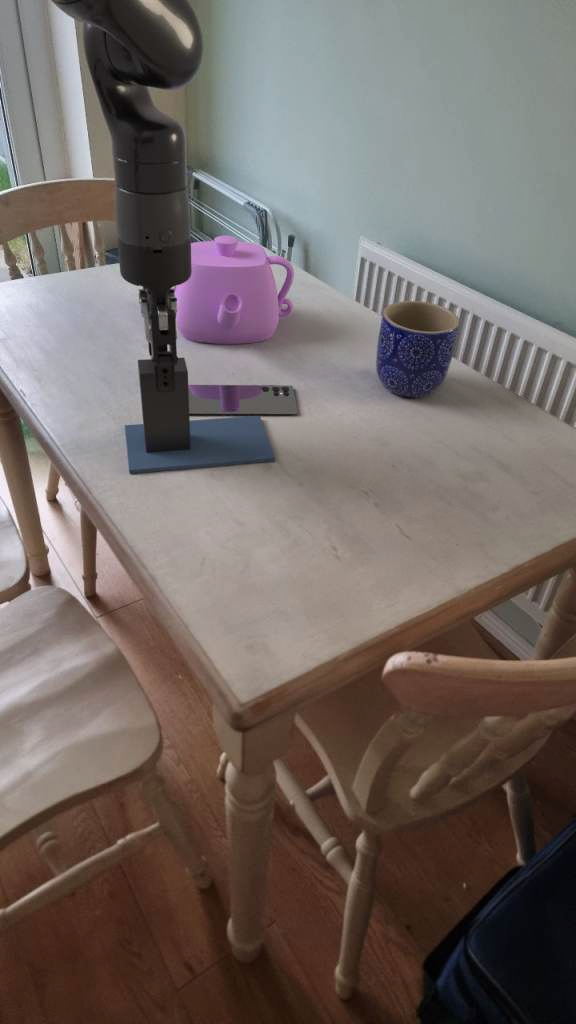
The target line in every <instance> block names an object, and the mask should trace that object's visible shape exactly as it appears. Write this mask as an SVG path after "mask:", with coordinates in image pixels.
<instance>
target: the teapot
mask: <svg viewBox="0 0 576 1024" xmlns="http://www.w3.org/2000/svg"><path fill="white" fill-rule="evenodd" d="M213 239H214V240H206V241H194V242H191V268H192V273H191V276H190V278H189V279H188V280H187V281H186V282H185V283H183V284H180V285H176V286H174V287H173V288H174V291H175V298H177V305H178V311H177V314H176V319H177V330H179V332H180V334H181V335H182V337H183V338H185V339H186V340H189V341H192V342H198V343H205V344H214V345H215V344H217V345H239V344H240V345H241V344H252V343H253V344H254V343H259V342H264V341H267V340H269V339H270V338H271V337H272V335H274V332H275V331H276V329H277V327H278V324H279V318H286V317H289V316H290V315H291V314H292V313H293V310H294V304H293V303H294V302H293V301H292V300H291V299H289V298H286V297H287V295H288V293H289V291H290V290H291V287H292V285H293V283H294V278H295V270H294V267H293V264H291V262H290V261H289V260H288V259H286V258H285V257H284V256H281V255H269V256H268V255H267V253H266V251H265V249H264V248H263V246H261V245H260V244H257V243H255V242H254V243H253V242H245V241H239V239H238V238H237V237H235V236H232V235H218V236H216V237H214V238H213ZM271 265H278V266H282V267H283V268H284V269H285V270H286V276H285V281H284V282H283V285H282V287H281V289H280V291H279V292H278V288H277V283H276V280H275V276H274V273H273V270H272V267H271ZM282 305H287V307H286V308H282Z"/></svg>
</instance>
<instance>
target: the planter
mask: <svg viewBox="0 0 576 1024" xmlns="http://www.w3.org/2000/svg"><path fill="white" fill-rule="evenodd" d="M460 321H461V320H460V318H459V317H458V316H457V314H455V312H454V311H452V310H450V309H449V308H446V307H444V306H441V305H440V304H436V303H432V302H427V301H419V300H417V301H416V300H405V301H404V300H403V301H397V302H394V303H391V304H388V306H387V305H386V307H385V308H384V309H383V311H382V315H381V319H380V326H379V331H378V332H379V333H378V340H377V346H376V357H375V370H376V374H377V377H378V379H379V381H380V383H381V384H382V386H383V387H384V388H385V389H387V390H388V391H389V392H391V393H393V394H395V395H397V396H400V397H403V398H404V397H405V398H422V397H426V396H429V395H431V394H432V393H434V392H436V391H437V390H438V389H439V388H440V387H441V386H442V384H443V383H444V382H445V380H446V378H447V375H448V372H449V370H450V366H451V363H452V359H453V355H454V351H455V348H456V343H457V338H458V335H459V330H460V324H461V323H460Z"/></svg>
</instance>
